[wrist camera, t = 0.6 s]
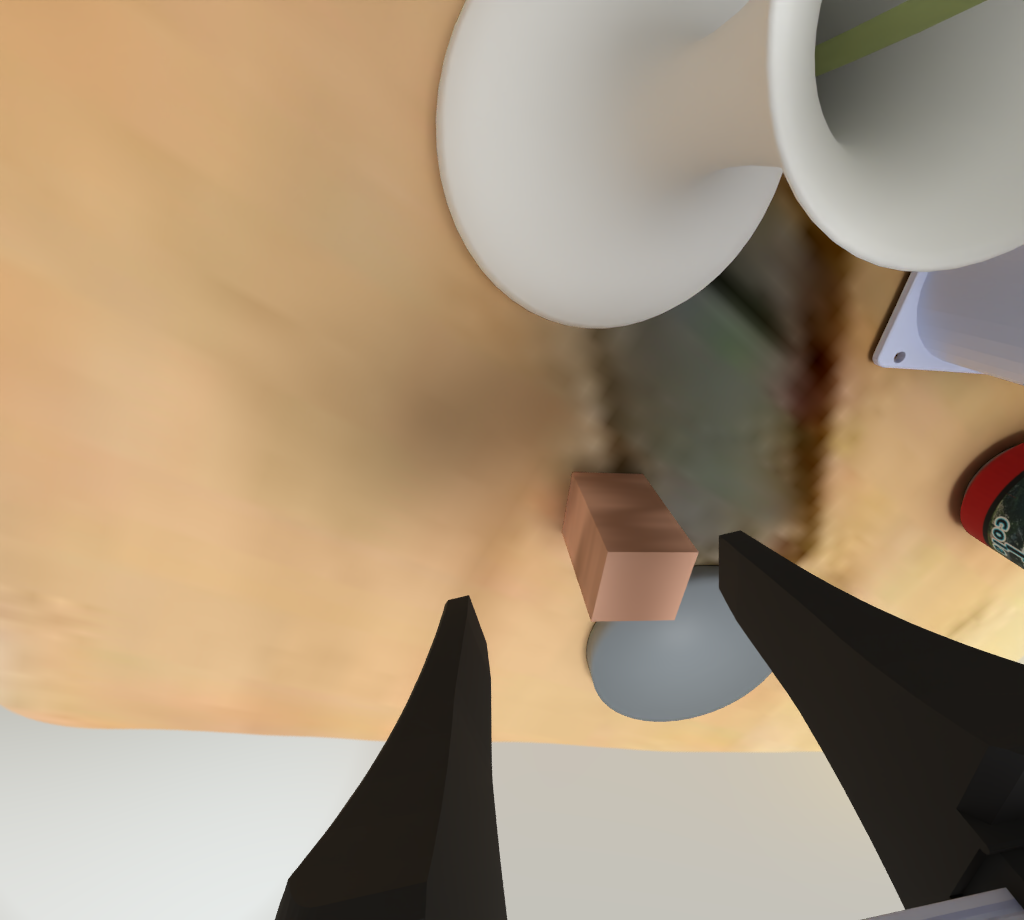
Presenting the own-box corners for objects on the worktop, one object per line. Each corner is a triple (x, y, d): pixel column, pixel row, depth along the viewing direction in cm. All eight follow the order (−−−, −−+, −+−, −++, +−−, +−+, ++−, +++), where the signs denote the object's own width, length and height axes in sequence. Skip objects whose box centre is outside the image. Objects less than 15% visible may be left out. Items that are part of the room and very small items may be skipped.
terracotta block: (643, 473, 23) (698, 552, 18) (627, 532, 25) (674, 620, 19) (572, 471, 22) (607, 552, 17) (561, 531, 24) (591, 621, 19)
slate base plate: (803, 565, 27) (820, 583, 26) (737, 697, 33) (749, 717, 31) (606, 565, 25) (614, 584, 24) (572, 703, 31) (577, 725, 30)
